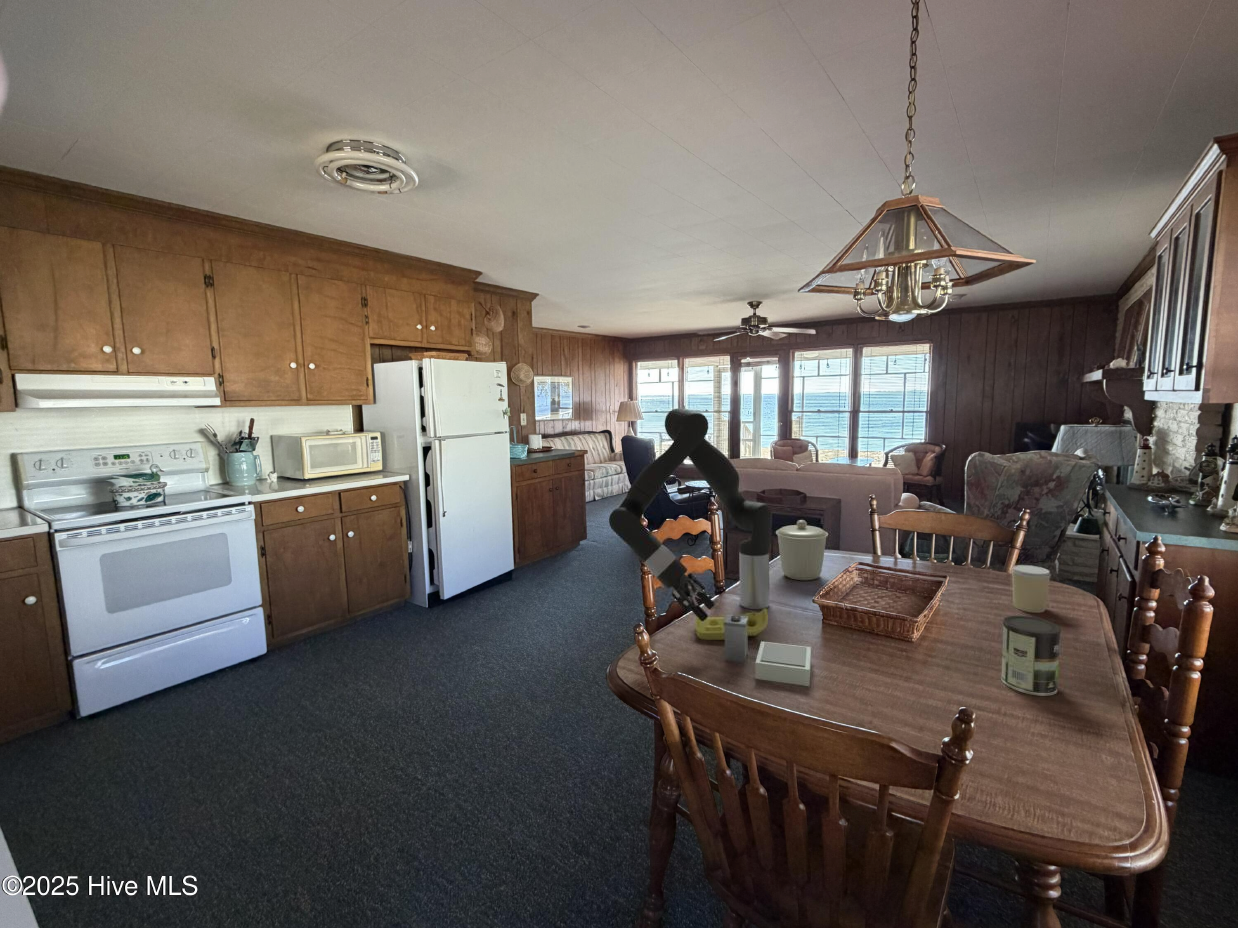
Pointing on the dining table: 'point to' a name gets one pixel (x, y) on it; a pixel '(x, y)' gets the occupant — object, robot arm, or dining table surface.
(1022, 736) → the dining table surface
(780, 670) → the stand
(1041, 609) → the cream jar
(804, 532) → the canister
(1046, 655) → the coffee can
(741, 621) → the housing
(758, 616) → the plastic component
